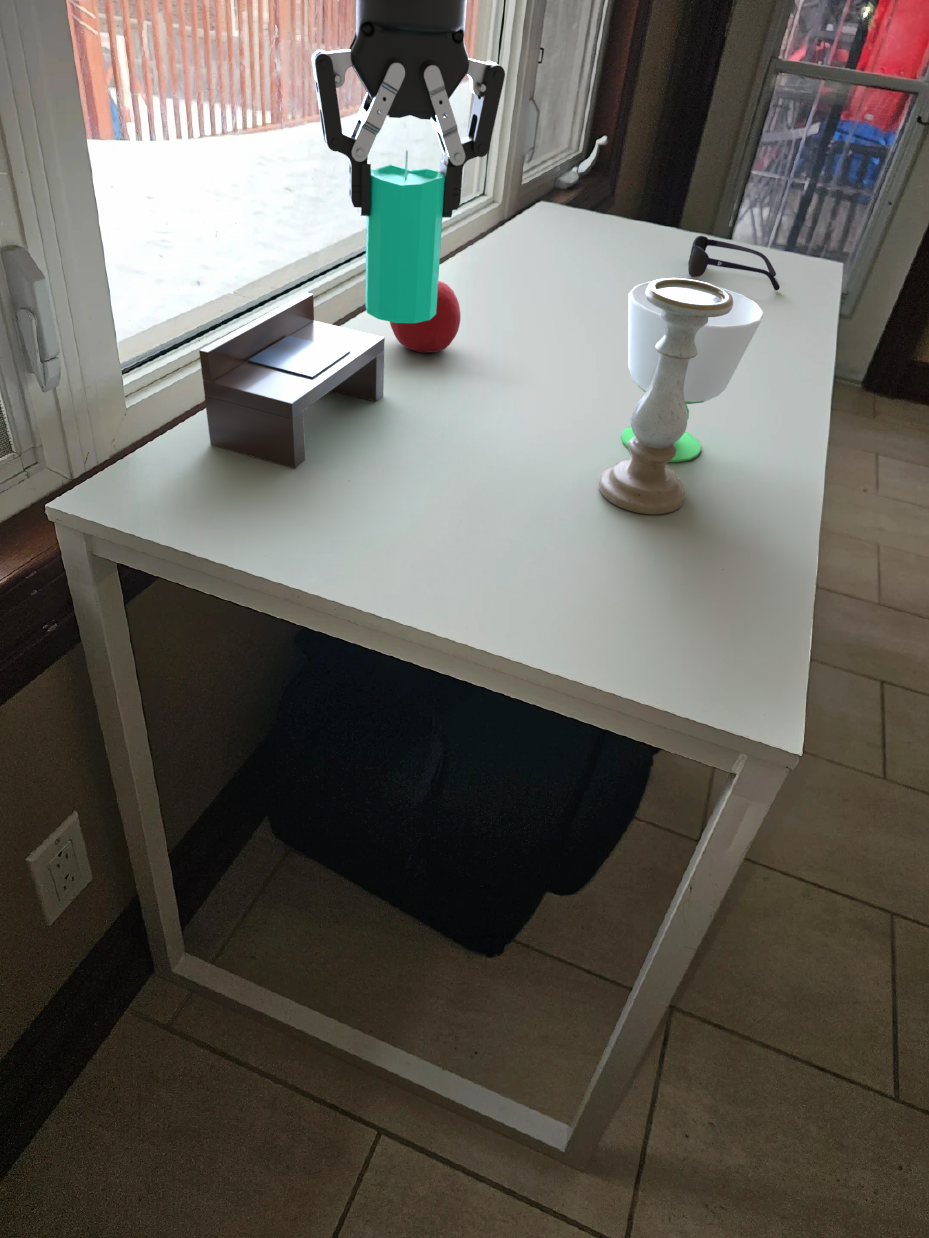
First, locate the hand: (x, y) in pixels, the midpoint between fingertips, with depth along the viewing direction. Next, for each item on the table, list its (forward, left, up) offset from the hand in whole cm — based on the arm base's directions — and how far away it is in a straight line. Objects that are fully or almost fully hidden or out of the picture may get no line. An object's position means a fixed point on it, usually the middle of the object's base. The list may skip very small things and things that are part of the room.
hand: (404, 213), depth 66 cm
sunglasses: (+73, +64, -26) cm, 100 cm away
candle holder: (+25, -3, -26) cm, 36 cm away
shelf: (-7, +17, -25) cm, 31 cm away
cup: (+32, +7, -26) cm, 42 cm away
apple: (+11, +36, -26) cm, 45 cm away
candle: (0, 0, -8) cm, 8 cm away
